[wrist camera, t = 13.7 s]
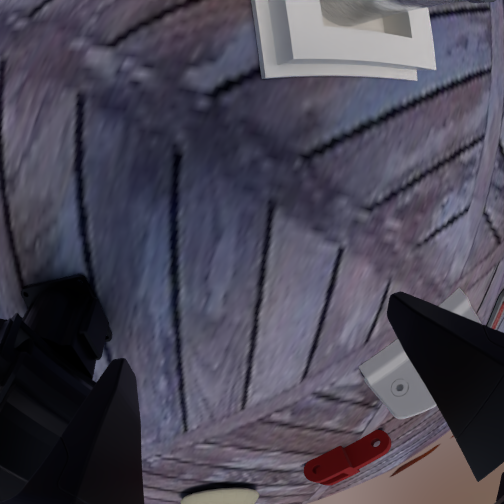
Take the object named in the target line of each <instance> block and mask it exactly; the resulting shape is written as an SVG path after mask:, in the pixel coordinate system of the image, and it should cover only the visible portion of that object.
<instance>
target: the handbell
mask: <svg viewBox="0 0 504 504" xmlns="http://www.w3.org/2000/svg"><path fill="white" fill-rule="evenodd" d="M258 497H259V493H258V492H256V491H255V490H253V489H248V488H221V489H213V490H206V491H201V492H196V493H193V494H190V495H187V496H185V497H184V498H183V499H182V500H181V504H255V502H256V501H257V499H258Z"/></svg>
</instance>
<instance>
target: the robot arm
mask: <svg viewBox="0 0 504 504" xmlns="http://www.w3.org/2000/svg"><path fill="white" fill-rule="evenodd" d="M78 280H81V281H82V282H83V283H80V282H79V281H78ZM26 292H27V293H28V294H26ZM21 295H22V297H23V299H24V301H25V303H26V305H27V306H28V310H27V311H26V313H25V315H24V317H23V318H22V317H21V316H20V315H19V314H18V313H16V314H15V315H14V316H13V317H12V318H10V319H9V320H7V319H6V320H4V319H0V504H144V493H143V479H142V459H141V421H140V411H139V403H138V393H137V383H136V377H135V374H134V372H133V371H132V369H131V367H130V365H129V364H128V362H127V360H126V359H124V358H120V359H114V360H112V361H111V363H110V364H109V366H108V367H107V369H106V370H105V371H104V373H103V374H102V376H101V377H100V379H99V380H98V381H97V383H96V382H95V381H93V380H92V378H93V374H94V369H95V364H96V360H99V359H100V358H101V357H102V352H103V347H104V343H105V342H108V341H110V340H111V339H112V332H111V330H110V328H109V326H108V325H109V322H108V320H107V318H106V316H105V314H104V312H103V310H102V308H101V305H100V303H99V301H98V299H97V298H95V297H94V295H93V292H92V290H91V288H90V286H89V283H88V281H87V279H86V277H85V276H84V275H82V274H77V275H73V276H69V277H64V278H60V279H56V280H51V281H47V282H43V283H38V284H34V285H30V286H25V287H24V288H23V289H22V291H21ZM387 317H388V320H389V322H390V324H391V326H392V327H393V329H394V331H395V333H396V335H397V337H398V339H399V342H400V344H401V346H402V348H403V349H404V351H405V353H406V355H407V356H408V358H409V360H410V361H411V363H412V364H413V366H414V368H415V369H416V371H417V373H418V374H419V376H420V378H421V379H422V381H423V382H424V384H425V386H426V387H427V389H428V391H429V393H430V394H431V396H432V398H433V399H434V401H435V403H436V405H437V406H438V408H439V410H440V412H441V413H442V415H443V417H444V419H445V420H446V422H447V424H448V426H449V428H450V429H451V431H452V433H453V435H454V437H455V438H456V441H457V443H458V445H459V446H460V448H461V450H462V452H463V454H464V456H465V458H466V460H467V462H468V464H469V466H470V468H471V470H472V472H473V474H474V476H475V478H476V480H477V481H478V482H479V481H480V480H482V479H483V478H484V477H486V476H487V475H488V474H489V473H491V472H492V471H493V470H494V469H496V468H497V467H498V466H499V465H501V464H502V463H503V462H504V333H503V332H500V331H497V330H495V329H492V328H490V327H488V326H485V325H482V324H480V323H478V322H475V321H473V320H471V319H468V318H466V317H463V316H461V315H458V314H456V313H454V312H451V311H449V310H446V309H444V308H441V307H439V306H436V305H434V304H431V303H429V302H426V301H424V300H421V299H419V298H416V297H414V296H411V295H409V294H406V293H404V292H397V293H394V294H392V295H391V296H390V298H389V304H388V309H387ZM106 335H108V336H106ZM495 504H504V472H503V473H502V476H501V481H500V486H499V491H498V495H497V500H496V503H495Z"/></svg>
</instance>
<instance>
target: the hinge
mask: <svg viewBox="0 0 504 504" xmlns="http://www.w3.org/2000/svg"><path fill="white" fill-rule="evenodd" d="M439 307H441V308H444V309H446V310H449V311H451V312H454V313H456V314H458V315H461V316H463V317H466V318H468V319H471V320H473V321H475V322H478V323H480V324H481V322H480V320H479V318H478V317H477V315H476V313H475V312H474V310H473V308H472V307H471V305H470V302H469V299H468V297H467V296H466V295H465V293H464V292H463V291H462V290H461V289H460V288H458V289H457V290H456V291H455V292H454V293H453V294H452V295H451V296H450V297H448V298H447V299H446V300H445V301H444V302H443V303H442V304H440V305H439ZM359 369H360V371H361V372H362V374H363V375H364V377H365V379H364V381H365V383H366V384H367V385H368V386H369V387H370V388H371V390H372V391H373V392H374V393H375V394H376V396H377V397H378V398H379V399H380V400H381V402H382V403H383V404H384V405H385V406H386V407H387V409H388V410H389V411H390V412H391V413H392V415H393V416H394V417H396V418H397V419H405V418H408V417H411V416H414V415H417V414H420V413H422V412H425V411H427V410H429V409H431V408H433V407H435V406H437V405H436V403H435V401H434V399H433V398H432V396H431V394H430V393H429V391H428V389H427V387H426V386H425V384H424V382H423V381H422V379H421V378H420V376H419V374H418V373H417V371H416V369H415V368H414V366H413V364H412V363H411V361H410V360H409V358H408V356H407V355H406V353H405V351H404V349H403V348H402V346H401V344H400V342H399V339H397V340H395V341H394V342H393V343H391V344H390V345H389V346H387V347H386V348H385V349H383V350H382V351H380V352H379V353H378V354H376V355H375V356H373V357H372V358H370V359H369V360H367V361H366V362H365V363H363V364H362V365H360V366H359Z"/></svg>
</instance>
